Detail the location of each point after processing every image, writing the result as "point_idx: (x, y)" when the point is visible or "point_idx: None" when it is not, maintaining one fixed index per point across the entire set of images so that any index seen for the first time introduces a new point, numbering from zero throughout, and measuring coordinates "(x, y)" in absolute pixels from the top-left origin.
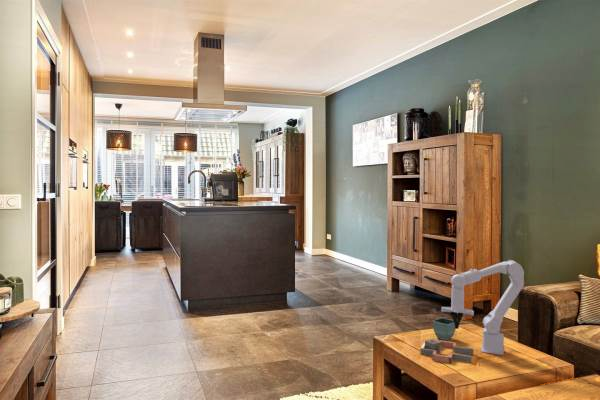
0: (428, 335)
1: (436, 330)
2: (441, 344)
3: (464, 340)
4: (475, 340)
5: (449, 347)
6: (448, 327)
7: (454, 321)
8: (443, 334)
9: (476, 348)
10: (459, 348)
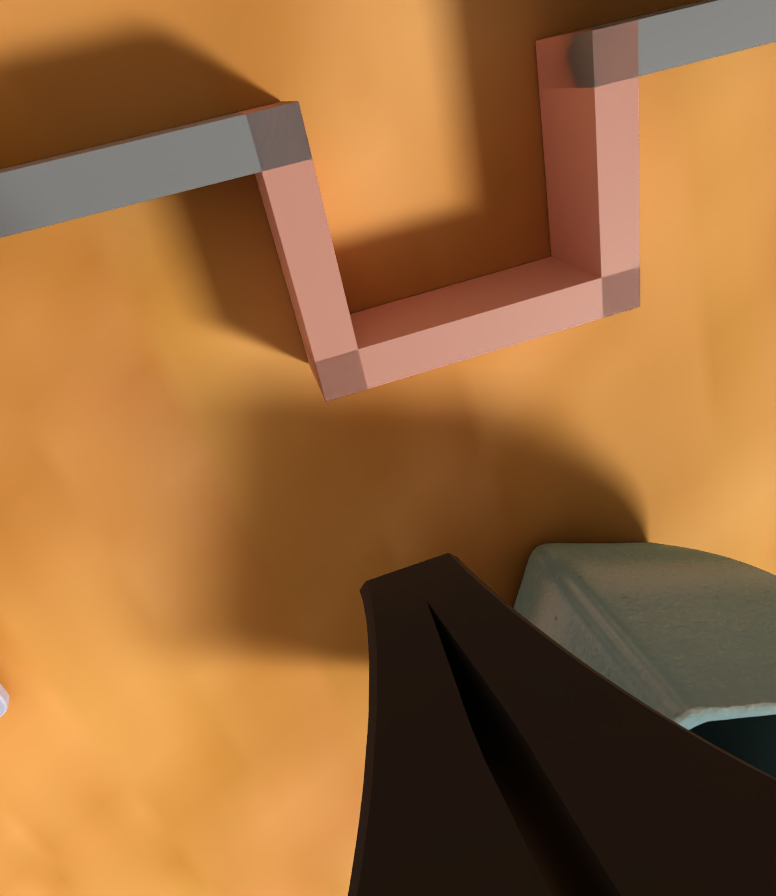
0: (764, 548)
1: (754, 584)
2: (556, 266)
3: (333, 718)
4: (219, 811)
5: (409, 298)
6: (628, 681)
7: (619, 716)
8: (621, 568)
9: (35, 582)
10: (139, 138)
